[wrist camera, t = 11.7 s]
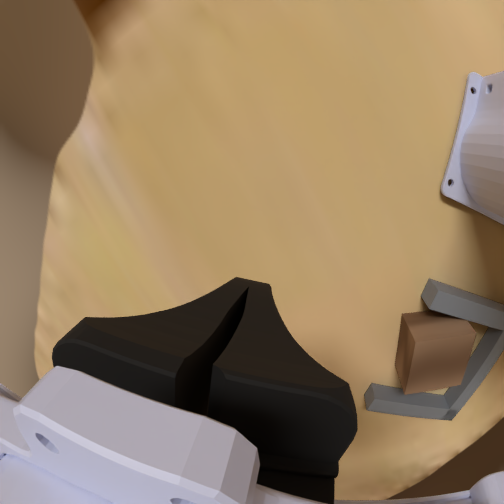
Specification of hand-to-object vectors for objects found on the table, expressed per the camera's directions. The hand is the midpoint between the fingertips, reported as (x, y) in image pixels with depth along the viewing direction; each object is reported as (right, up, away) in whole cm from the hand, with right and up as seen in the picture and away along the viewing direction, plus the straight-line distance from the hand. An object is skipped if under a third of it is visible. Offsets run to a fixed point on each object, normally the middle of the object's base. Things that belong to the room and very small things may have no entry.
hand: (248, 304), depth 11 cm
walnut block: (+14, -5, +11) cm, 19 cm away
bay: (+16, -7, +11) cm, 21 cm away
